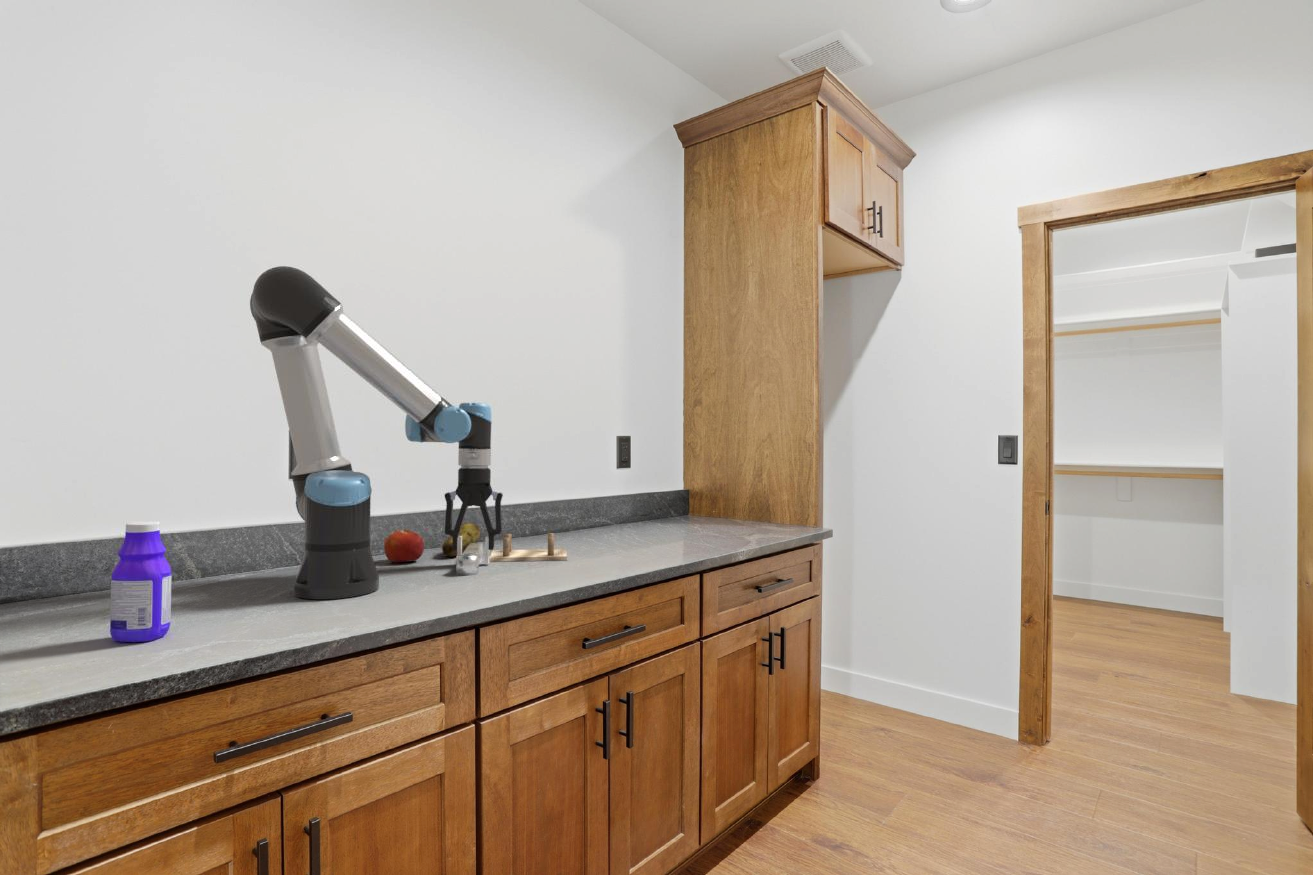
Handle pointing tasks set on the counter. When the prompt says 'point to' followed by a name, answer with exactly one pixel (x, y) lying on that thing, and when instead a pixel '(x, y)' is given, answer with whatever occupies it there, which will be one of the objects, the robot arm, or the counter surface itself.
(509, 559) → the rack
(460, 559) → the clear glass container
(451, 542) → the potato
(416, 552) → the tomato
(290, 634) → the counter surface
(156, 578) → the bottle
